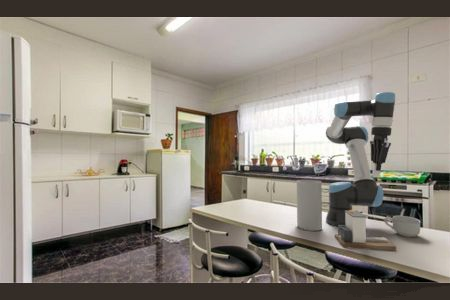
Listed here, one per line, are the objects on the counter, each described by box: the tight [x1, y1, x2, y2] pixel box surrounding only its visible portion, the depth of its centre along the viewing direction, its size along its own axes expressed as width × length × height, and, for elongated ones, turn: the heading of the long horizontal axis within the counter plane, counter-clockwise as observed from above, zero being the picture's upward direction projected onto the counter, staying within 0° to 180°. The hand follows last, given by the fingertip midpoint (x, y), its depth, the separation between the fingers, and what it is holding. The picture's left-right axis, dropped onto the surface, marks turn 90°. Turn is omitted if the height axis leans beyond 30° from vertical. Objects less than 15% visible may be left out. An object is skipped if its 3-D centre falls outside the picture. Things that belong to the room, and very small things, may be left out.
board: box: [334, 233, 397, 251], centre depth 99 cm, size 12×20×2 cm, turn 80°
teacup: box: [384, 215, 421, 238], centre depth 110 cm, size 14×11×8 cm
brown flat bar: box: [339, 235, 390, 243], centre depth 99 cm, size 3×19×1 cm, turn 80°
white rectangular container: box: [345, 210, 367, 243], centre depth 99 cm, size 9×5×12 cm, turn 170°
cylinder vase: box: [296, 179, 323, 232], centre depth 121 cm, size 12×12×25 cm
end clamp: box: [337, 225, 352, 242], centre depth 100 cm, size 8×3×5 cm, turn 170°
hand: (375, 177), depth 105 cm, fingers closed
